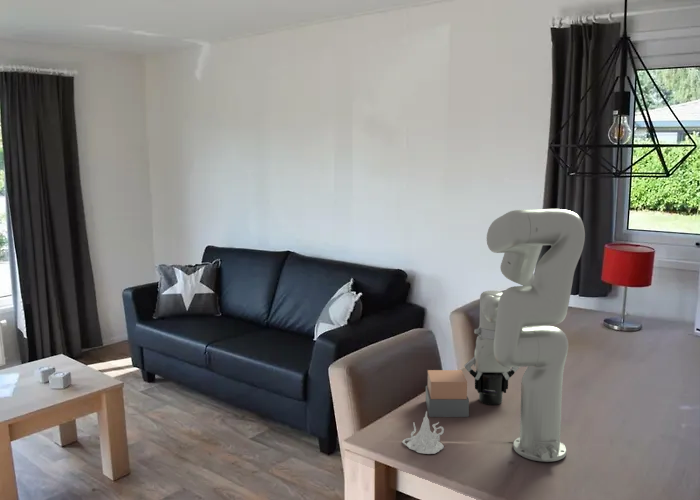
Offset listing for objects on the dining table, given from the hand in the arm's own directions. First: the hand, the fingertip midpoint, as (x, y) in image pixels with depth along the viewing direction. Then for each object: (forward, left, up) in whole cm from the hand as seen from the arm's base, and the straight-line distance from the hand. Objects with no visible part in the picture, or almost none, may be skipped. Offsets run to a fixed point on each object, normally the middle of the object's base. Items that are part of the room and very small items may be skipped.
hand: (491, 390), depth 178 cm
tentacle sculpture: (-29, +22, -4) cm, 37 cm away
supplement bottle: (0, 0, -4) cm, 4 cm away
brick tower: (-6, +14, -3) cm, 16 cm away
